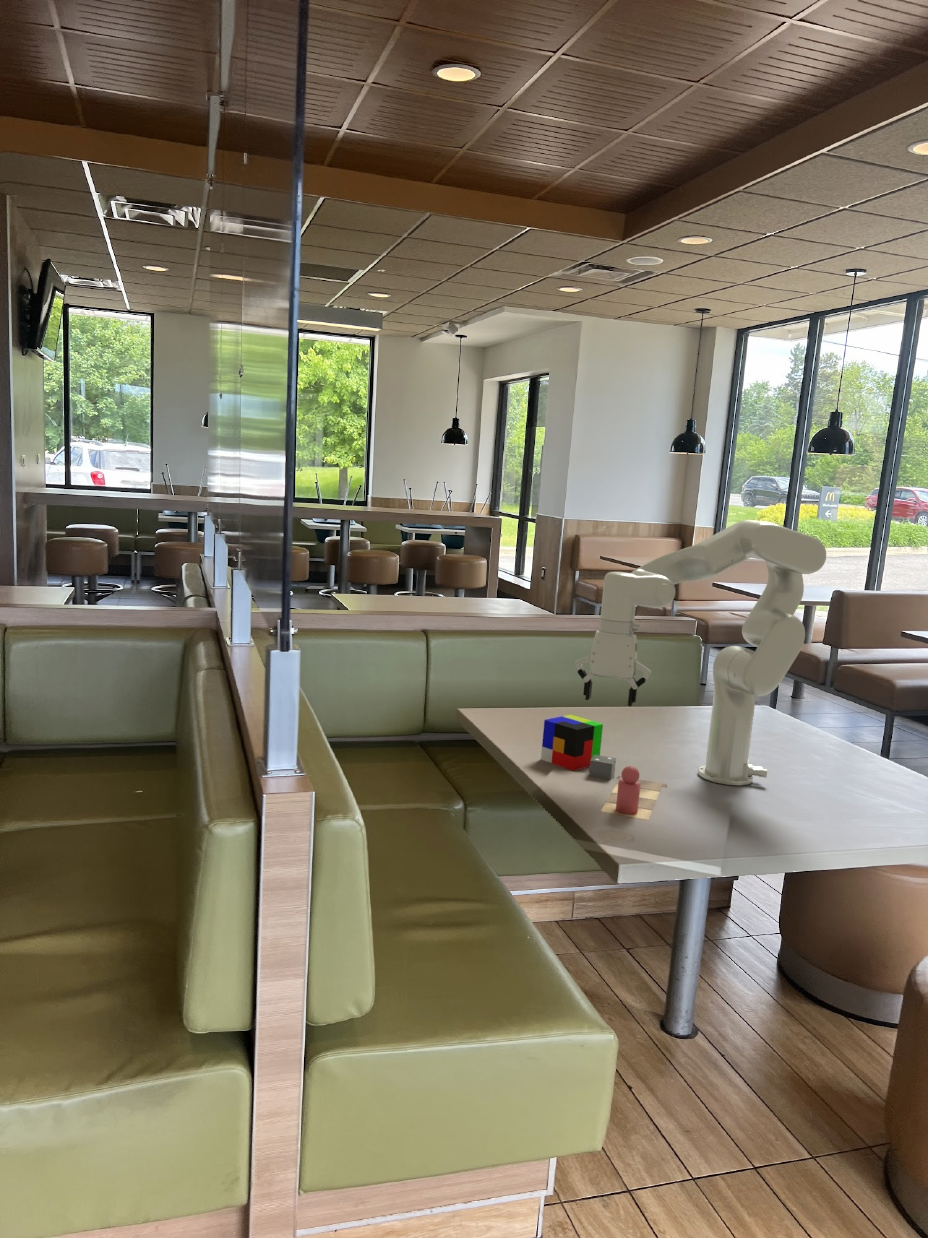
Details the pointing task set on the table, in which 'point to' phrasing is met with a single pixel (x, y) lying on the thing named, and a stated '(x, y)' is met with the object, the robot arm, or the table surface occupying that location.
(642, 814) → the board
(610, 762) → the die
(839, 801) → the table surface
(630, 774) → the pawn
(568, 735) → the puzzle toy
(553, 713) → the table surface
